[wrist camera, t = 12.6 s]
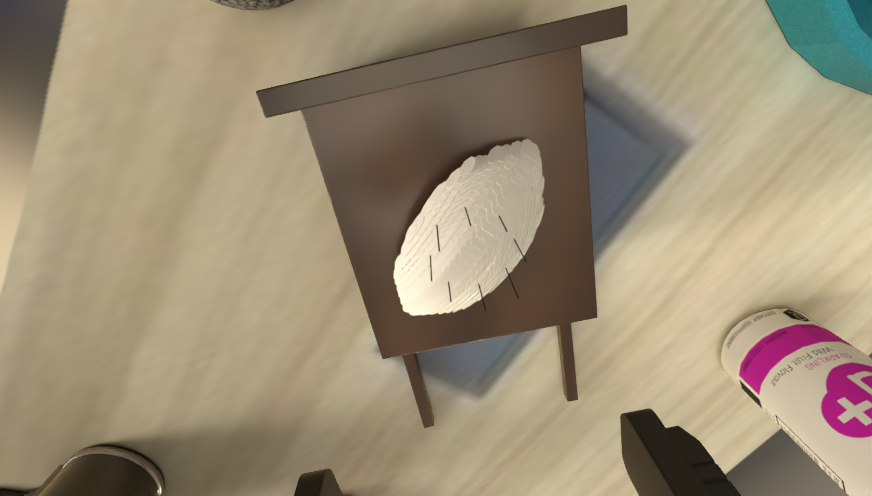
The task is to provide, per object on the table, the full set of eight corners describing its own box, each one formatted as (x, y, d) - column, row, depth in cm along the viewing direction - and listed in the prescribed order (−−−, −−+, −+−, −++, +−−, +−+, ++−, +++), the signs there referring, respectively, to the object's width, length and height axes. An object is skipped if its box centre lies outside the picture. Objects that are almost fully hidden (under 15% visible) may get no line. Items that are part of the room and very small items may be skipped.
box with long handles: (424, 420, 41) (425, 579, 29) (322, 80, 29) (242, 94, 16) (574, 392, 41) (645, 543, 28) (539, 30, 28) (641, 0, 15)
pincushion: (448, 329, 26) (455, 394, 21) (364, 283, 25) (349, 341, 20) (574, 172, 22) (620, 205, 17) (484, 106, 21) (505, 120, 16)
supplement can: (712, 320, 38) (880, 466, 24) (806, 292, 37) (1037, 428, 23) (717, 386, 41) (868, 548, 27) (804, 362, 40) (1006, 517, 26)
